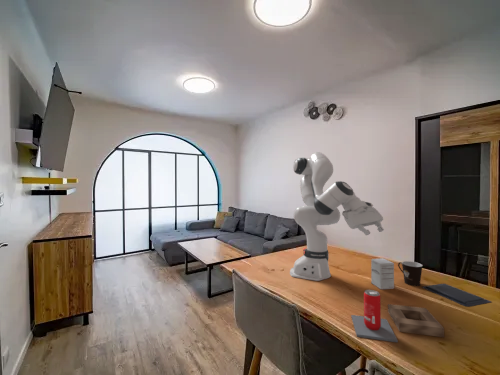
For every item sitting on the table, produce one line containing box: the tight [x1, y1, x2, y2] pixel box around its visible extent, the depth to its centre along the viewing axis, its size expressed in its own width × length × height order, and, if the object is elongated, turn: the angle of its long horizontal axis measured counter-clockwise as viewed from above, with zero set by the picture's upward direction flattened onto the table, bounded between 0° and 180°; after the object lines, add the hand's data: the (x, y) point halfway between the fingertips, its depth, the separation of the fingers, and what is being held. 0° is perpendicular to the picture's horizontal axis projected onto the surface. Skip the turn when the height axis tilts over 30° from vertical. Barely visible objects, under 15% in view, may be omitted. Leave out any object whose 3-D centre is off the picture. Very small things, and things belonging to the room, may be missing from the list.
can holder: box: [387, 303, 445, 338], centre depth 85 cm, size 13×13×3 cm
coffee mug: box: [397, 260, 423, 287], centre depth 120 cm, size 12×9×10 cm
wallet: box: [421, 283, 492, 308], centre depth 107 cm, size 20×2×15 cm
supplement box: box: [370, 257, 395, 290], centre depth 116 cm, size 7×7×13 cm
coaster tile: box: [350, 314, 398, 343], centre depth 82 cm, size 12×12×1 cm
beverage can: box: [363, 289, 382, 331], centre depth 82 cm, size 5×5×12 cm
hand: (375, 232), depth 105 cm, fingers open, 8 cm apart
